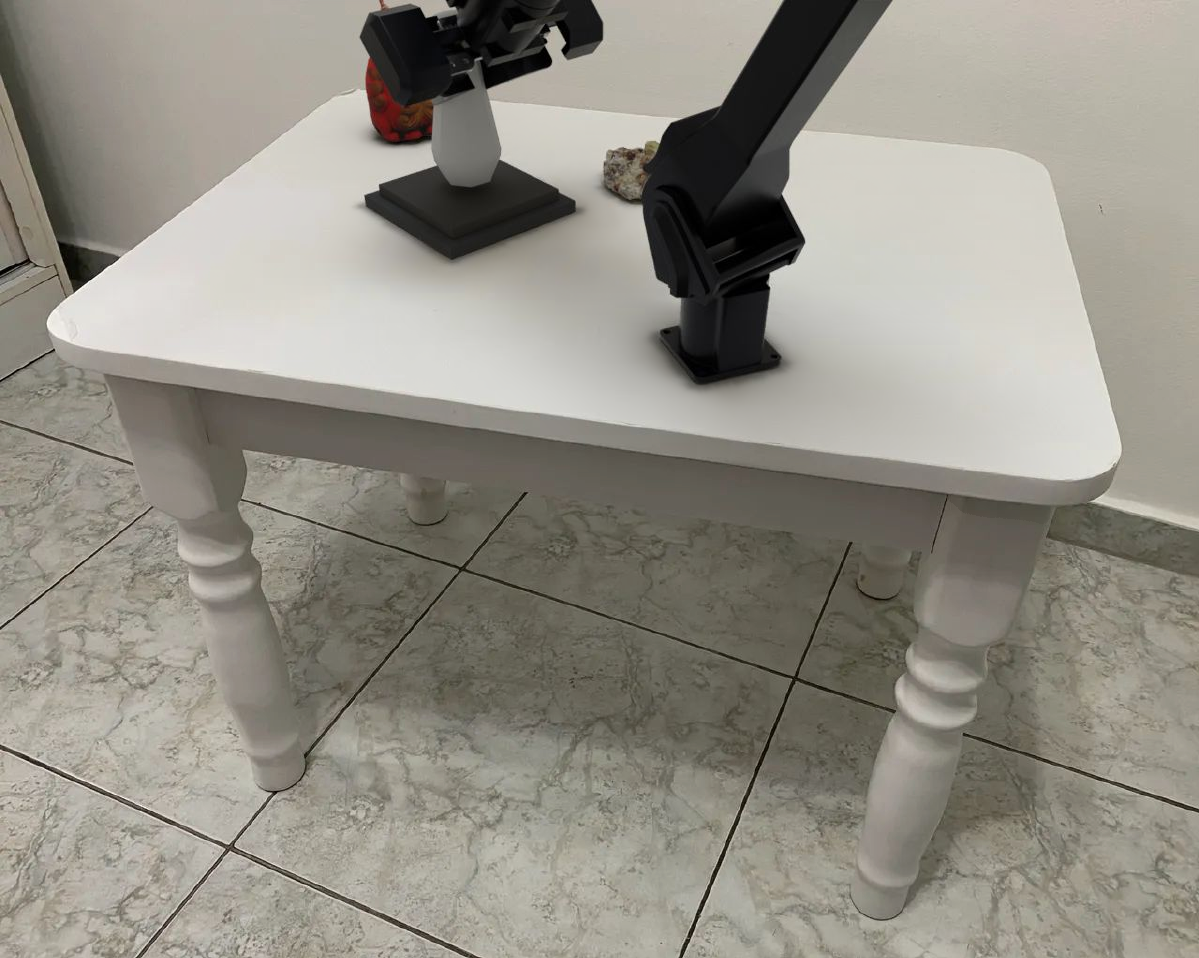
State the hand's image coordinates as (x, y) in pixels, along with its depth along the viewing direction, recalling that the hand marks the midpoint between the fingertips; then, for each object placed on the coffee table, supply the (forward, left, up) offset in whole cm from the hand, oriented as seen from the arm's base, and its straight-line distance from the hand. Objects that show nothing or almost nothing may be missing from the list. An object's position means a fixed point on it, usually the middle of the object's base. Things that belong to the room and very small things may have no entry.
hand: (451, 94), depth 81 cm
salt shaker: (-1, 0, -7) cm, 7 cm away
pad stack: (-1, 0, -9) cm, 10 cm away
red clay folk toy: (+18, +1, -10) cm, 20 cm away
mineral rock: (-3, -17, -10) cm, 20 cm away
